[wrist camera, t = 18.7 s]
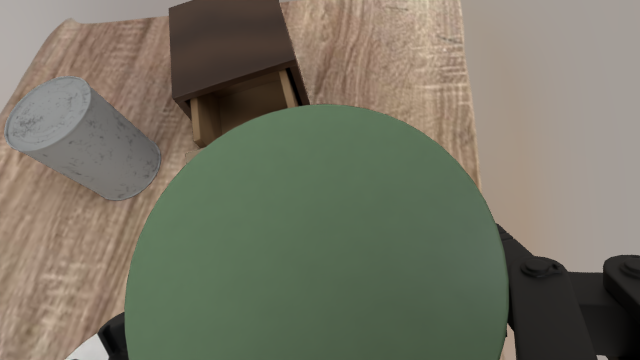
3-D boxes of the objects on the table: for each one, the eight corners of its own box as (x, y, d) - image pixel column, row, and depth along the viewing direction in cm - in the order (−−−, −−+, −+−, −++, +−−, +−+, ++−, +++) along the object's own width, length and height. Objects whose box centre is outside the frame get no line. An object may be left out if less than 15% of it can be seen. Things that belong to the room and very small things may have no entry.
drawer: (334, 204, 37) (322, 170, 30) (225, 237, 38) (188, 211, 31) (297, 76, 46) (281, 28, 40) (210, 103, 47) (179, 61, 40)
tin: (400, 221, 19) (414, 65, 9) (461, 379, 16) (613, 437, 5) (267, 260, 20) (128, 155, 9) (295, 424, 16) (111, 567, 5)
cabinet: (313, 115, 44) (295, 58, 36) (213, 146, 45) (171, 98, 36) (289, 36, 52) (270, -26, 43) (204, 64, 52) (168, 8, 44)
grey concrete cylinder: (110, 138, 49) (31, 77, 38) (170, 137, 47) (104, 73, 36) (84, 200, 45) (-14, 151, 34) (147, 201, 43) (66, 151, 32)
